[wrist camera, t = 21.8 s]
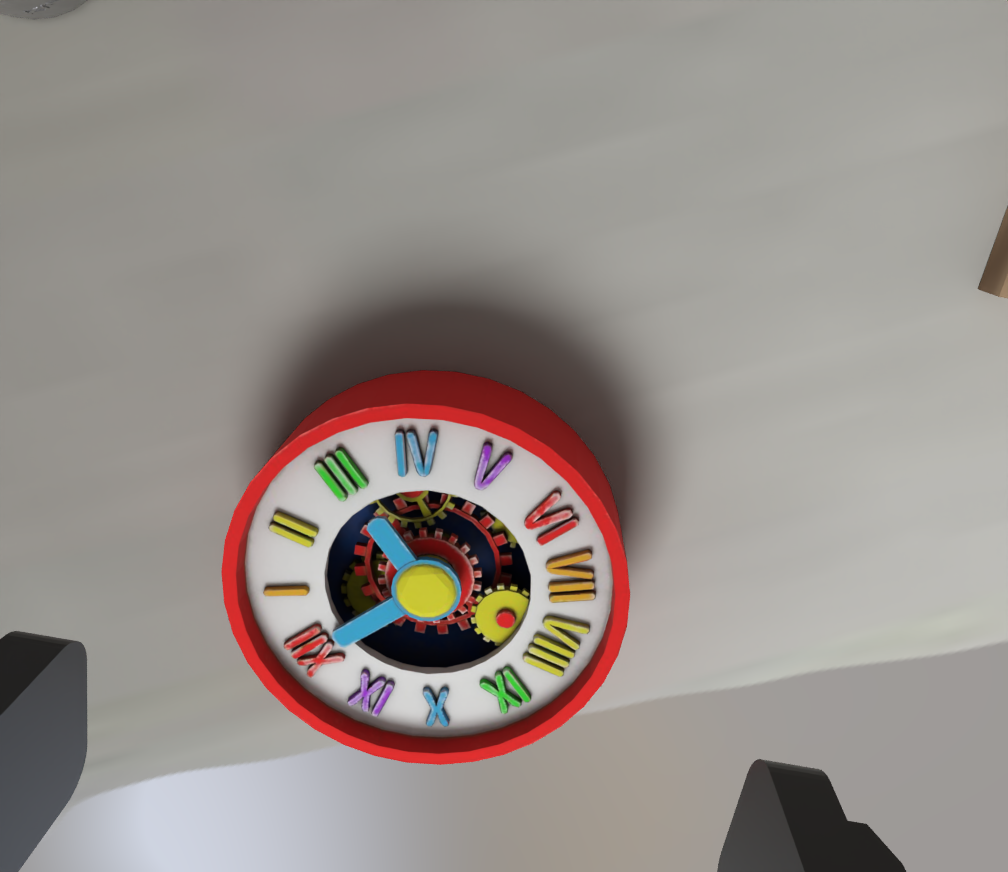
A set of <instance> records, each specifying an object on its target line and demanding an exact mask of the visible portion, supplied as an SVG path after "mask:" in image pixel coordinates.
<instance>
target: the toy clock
mask: <svg viewBox="0 0 1008 872" xmlns="http://www.w3.org/2000/svg"><path fill="white" fill-rule="evenodd" d="M222 582H223V593H224V603H225V607H226V610H227V614H228V617H229V621H230V624H231V628H232V632H233V634H234V636H235V638H236V640H237V642H238V644H239V646H240V648H241V650H242V652H243V654H244V656H245V658H246V660H247V662H248V664H249V665H250V666H251V668H252V669H253V670H254V672H255V673H256V675H257V676H258V677H259V679H260V680H261V682H262V683H263V684H264V686H265V687H266V688H267V689H268V690H269V691H270V692H271V693H272V694H273V695H274V696H275V697H276V698H277V699H278V700H279V701H280V702H281V703H282V704H283V705H284V706H285V707H286V708H287V709H288V710H289V711H290V712H292V713H293V714H295V715H296V716H297V717H299V718H300V719H301V720H303V721H304V722H305V723H307V724H308V725H310V726H311V727H312V728H314V729H315V730H317V731H319V732H321V733H323V734H325V735H326V736H328V737H330V738H332V739H334V740H336V741H338V742H340V743H342V744H343V745H346V746H349V747H352V748H355V749H357V750H360V751H363V752H366V753H368V754H371V755H374V756H378V757H383V758H388V759H393V760H398V761H402V762H409V763H424V764H440V765H441V764H453V763H464V762H474V761H479V760H483V759H487V758H492V757H496V756H500V755H504V754H507V753H509V752H512V751H514V750H517V749H519V748H522V747H524V746H527V745H530V744H532V743H534V742H536V741H537V740H539V739H541V738H542V737H544V736H546V735H547V734H549V733H551V732H552V731H554V730H556V729H557V728H559V727H561V726H562V725H563V724H564V723H565V722H566V721H568V720H569V719H570V718H571V717H572V716H573V715H575V714H576V713H577V712H578V711H579V710H580V709H582V708H583V707H584V706H585V705H586V703H587V702H588V701H589V700H590V698H591V697H592V696H593V695H594V693H595V692H596V691H597V690H598V689H599V687H600V686H601V685H602V684H603V682H604V681H605V679H606V677H607V675H608V673H609V671H610V669H611V667H612V665H613V664H614V662H615V660H616V658H617V656H618V653H619V650H620V647H621V644H622V640H623V637H624V634H625V631H626V627H627V620H628V610H629V600H630V589H629V579H628V569H627V560H626V555H625V549H624V544H623V538H622V532H621V527H620V521H619V516H618V511H617V507H616V504H615V501H614V498H613V495H612V491H611V488H610V485H609V482H608V480H607V479H606V477H605V475H604V473H603V471H602V469H601V467H600V465H599V464H598V462H597V460H596V458H595V456H594V455H593V453H592V452H591V451H590V450H589V448H588V447H587V446H586V445H585V443H584V442H583V441H582V440H581V438H580V437H579V436H578V435H577V433H576V432H575V431H574V430H573V429H572V428H571V427H570V426H569V425H567V424H566V423H565V422H564V421H563V420H562V419H561V418H559V417H558V416H557V415H556V414H555V413H554V412H553V411H551V410H550V409H549V408H547V407H546V406H544V405H542V404H541V403H539V402H537V401H536V400H534V399H533V398H531V397H529V396H528V395H526V394H524V393H523V392H521V391H519V390H516V389H514V388H511V387H509V386H506V385H503V384H501V383H498V382H496V381H493V380H491V379H487V378H483V377H478V376H474V375H469V374H464V373H460V372H450V371H427V370H420V371H413V372H405V373H397V374H389V375H386V376H382V377H379V378H376V379H373V380H370V381H366V382H363V383H360V384H357V385H355V386H353V387H351V388H349V389H347V390H346V391H344V392H342V393H340V394H338V395H336V396H334V397H332V398H330V399H329V400H327V401H326V402H325V403H324V404H322V405H321V406H320V407H318V408H317V409H316V410H315V411H313V412H312V413H311V414H310V415H308V416H307V417H306V418H305V419H304V420H303V421H302V422H301V423H300V424H299V426H298V427H297V428H296V429H295V430H294V431H293V433H292V434H291V435H290V436H289V437H288V438H287V440H286V441H285V442H284V443H283V444H282V445H281V447H280V448H279V449H278V450H277V451H276V453H275V454H274V455H273V456H272V457H271V458H270V460H269V461H268V462H267V463H266V464H265V466H264V467H263V468H262V469H261V470H260V471H259V473H258V474H257V475H256V476H255V477H254V478H253V480H252V481H251V482H250V484H249V486H248V487H247V489H246V491H245V493H244V495H243V496H242V498H241V500H240V502H239V503H238V505H237V507H236V509H235V511H234V514H233V517H232V520H231V523H230V526H229V530H228V533H227V536H226V539H225V545H224V554H223V563H222Z"/></svg>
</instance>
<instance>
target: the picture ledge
mask: <svg viewBox="0 0 1008 872" xmlns="http://www.w3.org/2000/svg"><path fill="white" fill-rule="evenodd" d="M978 289H979V290H982V291H985V292H987V293H990V294H993V295H996V296H998V297H1004V298H1008V207H1007V210H1006V213H1005V215H1004V218H1003V221H1002V224H1001V226H1000V229H999V232H998V235H997V238H996V240H995V243H994V246H993V249H992V251H991V254H990V257H989V260H988V262H987V265H986V268H985V271H984V273H983V276H982V279H981V282H980V284H979V287H978Z"/></svg>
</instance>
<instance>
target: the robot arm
mask: <svg viewBox="0 0 1008 872" xmlns="http://www.w3.org/2000/svg"><path fill="white" fill-rule="evenodd" d="M86 1H87V0H0V14H4V15H8V16H13V17H20V18H28V19H42V18H51V17H57V16H59V15H62V14H65V13H67V12H70V11H72V10H75V9H76V8H77V7H79V6H80V5H82V4H83V3H84V2H86ZM86 752H87V656H86V650H85V648H84V645H83V644H82V643H80V642H79V641H73V640H67V639H61V638H55V637H49V636H43V635H38V634H32V633H26V632H20V631H14V632H10V633H8V634H7V635H5V636H4V637H3V638H1V639H0V872H18V871H19V870H20V868H21V867H22V866H23V864H24V863H25V861H26V860H27V859H28V857H29V856H30V854H31V853H32V851H33V850H34V849H35V848H36V846H37V845H38V843H39V842H40V841H41V839H42V838H43V836H44V835H45V834H46V832H47V831H48V829H49V828H50V827H51V825H52V824H53V822H54V821H55V820H56V818H57V817H58V815H59V814H60V813H61V811H62V810H63V808H64V807H65V806H66V804H67V803H68V801H69V800H70V798H71V796H72V794H73V792H74V790H75V788H76V786H77V784H78V781H79V779H80V776H81V773H82V770H83V766H84V763H85V758H86ZM717 872H906V870H905V868H904V866H903V865H902V863H901V862H900V861H899V860H898V858H897V857H896V856H895V855H894V854H893V853H892V852H891V851H890V849H888V847H887V846H886V845H885V844H884V843H883V842H882V841H881V839H880V838H879V837H878V836H877V835H876V834H875V833H874V832H873V831H872V829H871V828H870V827H869V826H868V825H867V824H863V823H857V822H851V821H847V819H846V816H845V814H844V812H843V810H842V807H841V805H840V803H839V800H838V798H837V796H836V793H835V791H834V789H833V787H832V784H831V782H830V780H829V779H828V776H827V775H826V774H825V773H824V772H823V771H822V770H819V769H814V768H808V767H802V766H796V765H790V764H785V763H779V762H772V761H767V760H761V759H759V760H756V761H755V762H754V763H753V764H752V765H751V767H750V769H749V771H748V774H747V777H746V780H745V783H744V786H743V789H742V792H741V795H740V798H739V801H738V804H737V807H736V810H735V813H734V816H733V819H732V822H731V825H730V828H729V831H728V834H727V837H726V840H725V843H724V846H723V849H722V852H721V855H720V859H719V864H718V871H717Z"/></svg>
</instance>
